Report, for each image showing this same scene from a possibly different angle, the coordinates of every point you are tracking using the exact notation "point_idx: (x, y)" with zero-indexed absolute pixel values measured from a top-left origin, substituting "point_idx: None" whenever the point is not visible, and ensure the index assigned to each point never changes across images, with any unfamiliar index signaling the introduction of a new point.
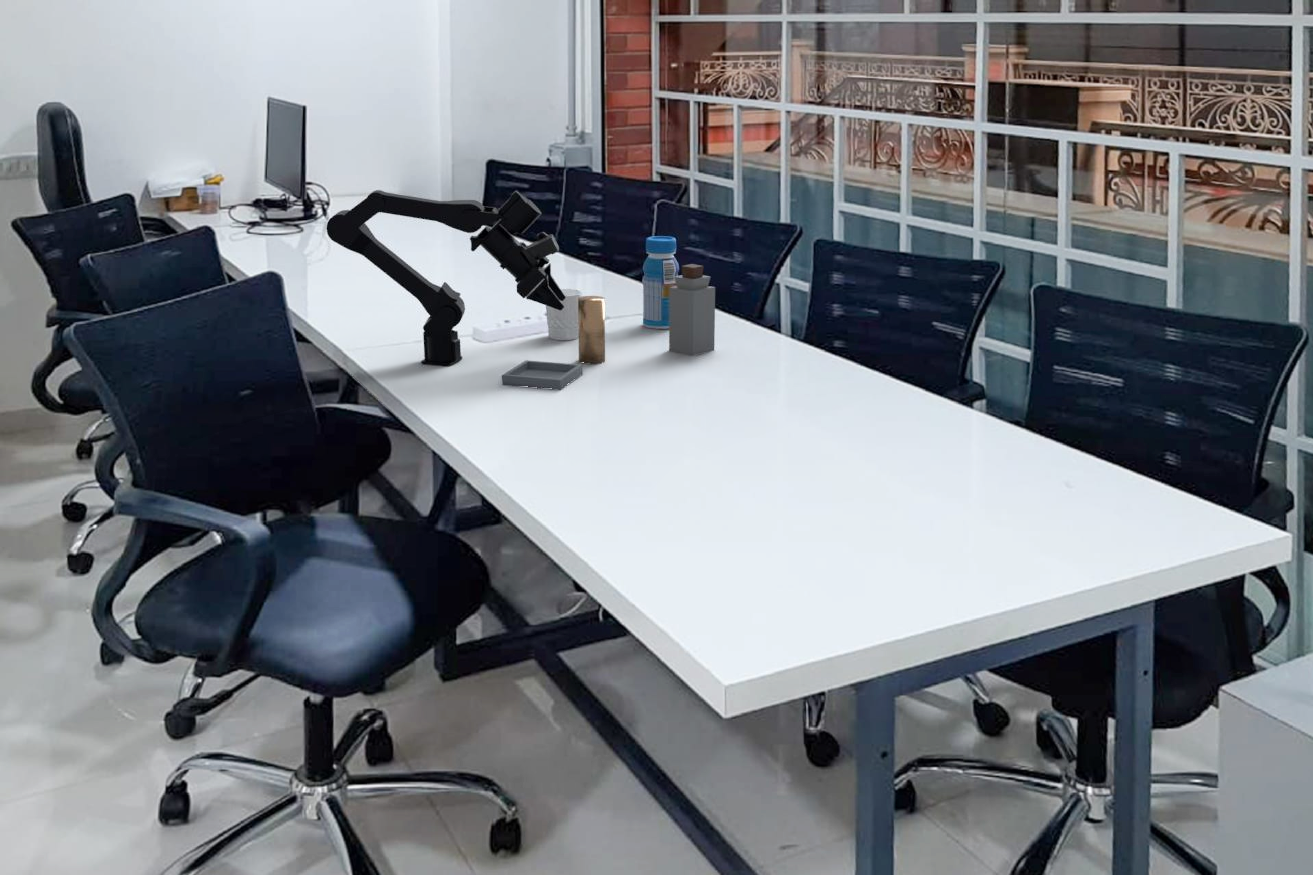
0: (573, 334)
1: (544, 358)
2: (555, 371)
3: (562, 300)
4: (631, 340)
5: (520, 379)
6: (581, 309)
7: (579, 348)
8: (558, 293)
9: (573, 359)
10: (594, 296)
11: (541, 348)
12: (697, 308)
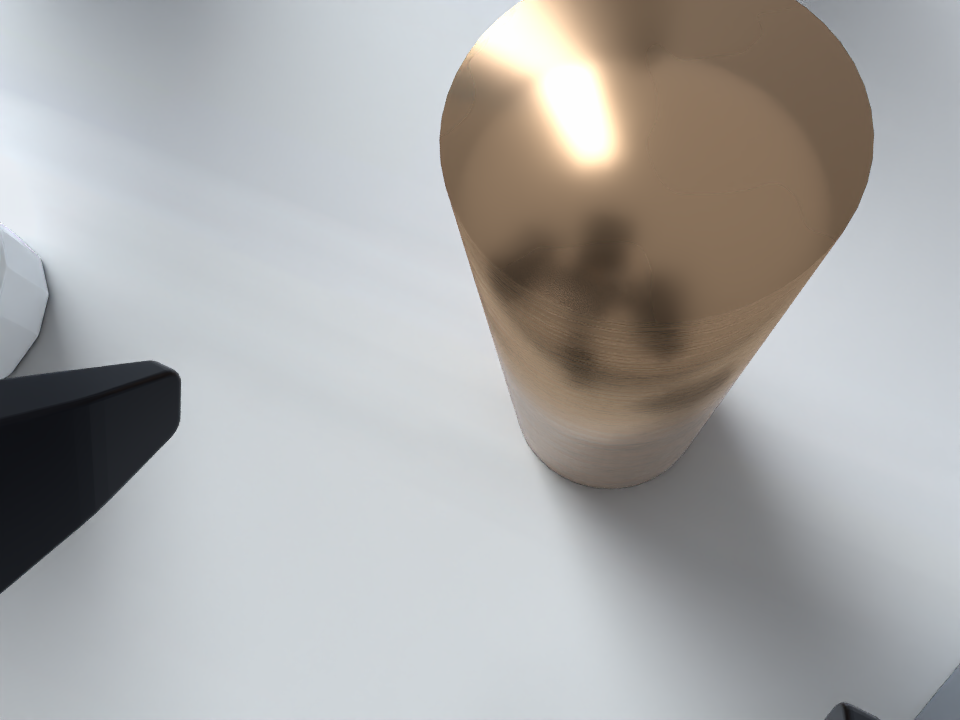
0: (27, 276)
1: (380, 680)
2: None
3: (174, 422)
4: (256, 19)
5: None
6: (706, 358)
7: (611, 471)
8: (77, 454)
9: (508, 494)
10: (525, 41)
11: (114, 571)
12: None
